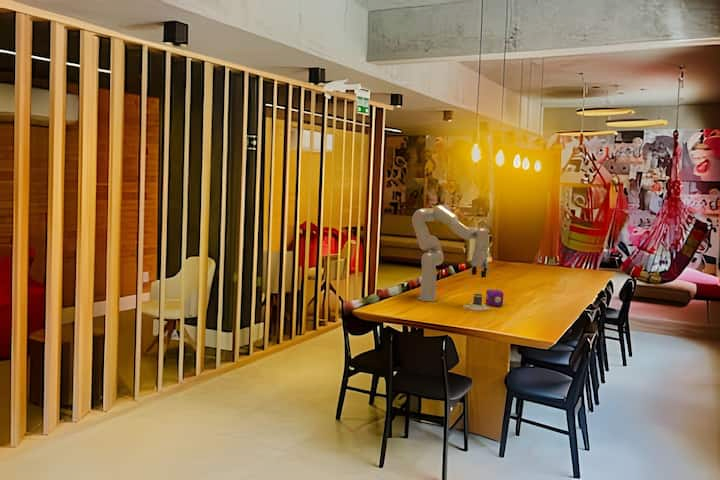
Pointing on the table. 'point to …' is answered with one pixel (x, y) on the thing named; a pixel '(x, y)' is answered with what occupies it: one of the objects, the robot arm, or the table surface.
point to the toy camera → (494, 297)
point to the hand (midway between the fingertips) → (478, 276)
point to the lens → (477, 299)
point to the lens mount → (477, 307)
